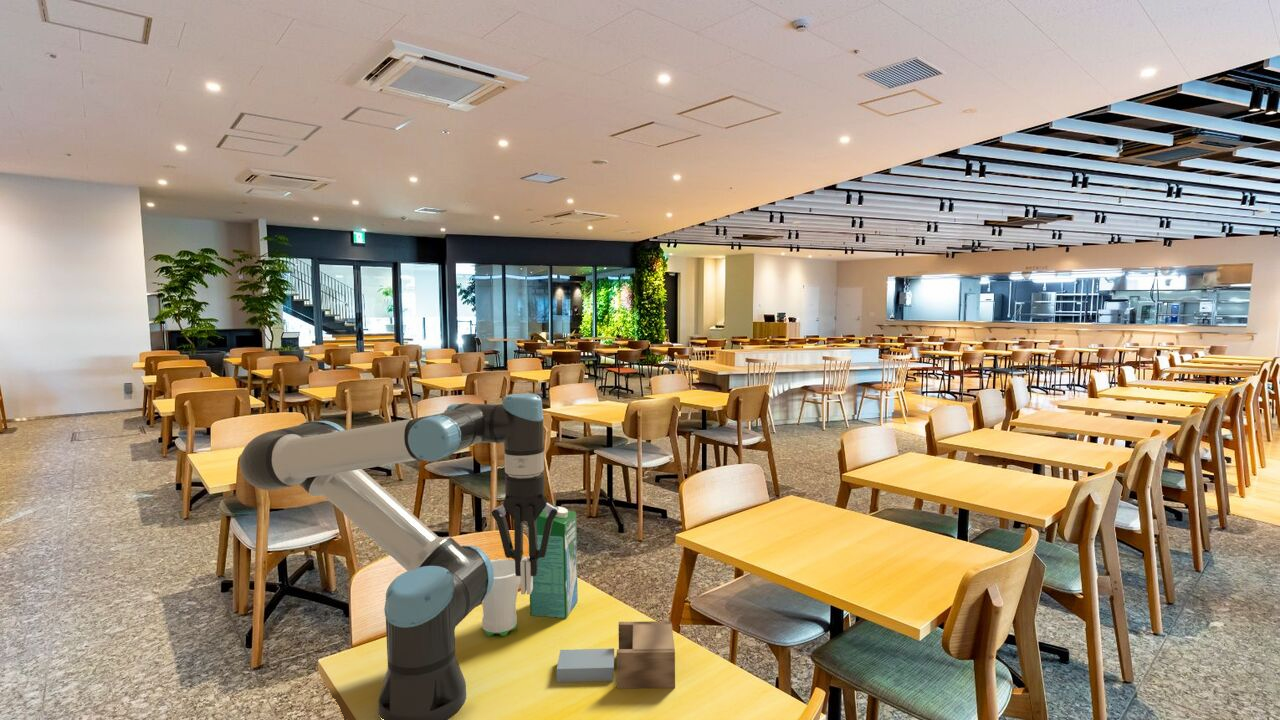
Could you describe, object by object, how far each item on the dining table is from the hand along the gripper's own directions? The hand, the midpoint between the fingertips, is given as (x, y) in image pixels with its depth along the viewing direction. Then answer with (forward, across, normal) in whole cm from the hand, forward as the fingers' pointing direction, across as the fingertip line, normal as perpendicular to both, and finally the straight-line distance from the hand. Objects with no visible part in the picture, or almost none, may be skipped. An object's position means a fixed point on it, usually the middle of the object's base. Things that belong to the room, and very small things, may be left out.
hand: (527, 591), depth 123 cm
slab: (+17, +12, 0) cm, 20 cm away
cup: (+17, -10, +17) cm, 26 cm away
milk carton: (+17, +2, +27) cm, 32 cm away
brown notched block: (+16, +23, 0) cm, 29 cm away
